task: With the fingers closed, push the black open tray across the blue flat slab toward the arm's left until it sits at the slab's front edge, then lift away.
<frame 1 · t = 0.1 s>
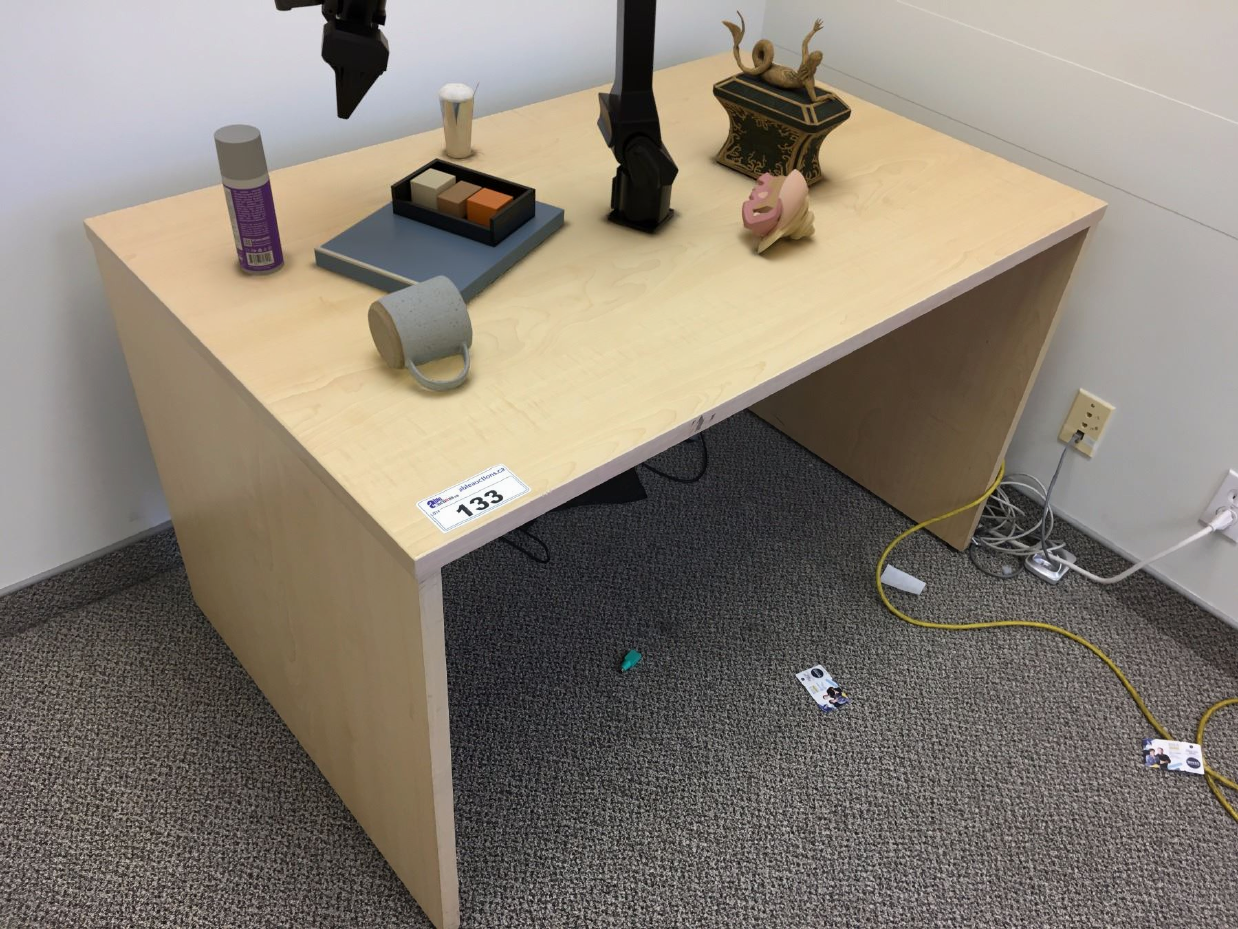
hand: (342, 100, 107), 15 cm above the table, tool pointing down, fingers open, 9 cm apart
ceramic mug: (430, 363, 99), on the table
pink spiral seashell: (771, 241, 123), on the table
black open tray: (464, 214, 118), point 2 cm above the table, touching blue flat slab
blue flat slab: (446, 243, 116), on the table
decorative box: (759, 166, 138), on the table
milkshake: (461, 154, 135), on the table
container: (262, 265, 111), on the table
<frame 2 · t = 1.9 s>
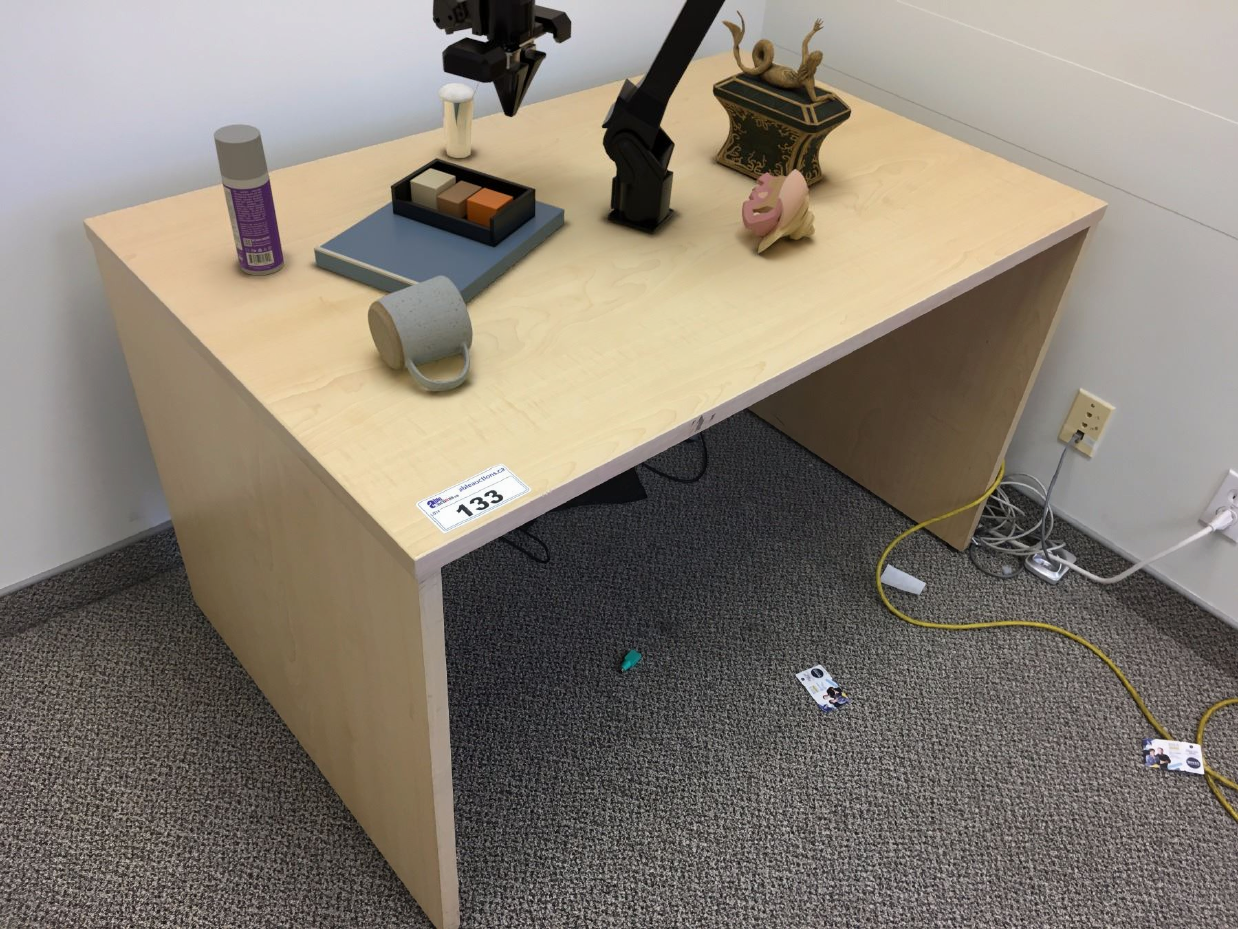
hand: (510, 115, 119), 11 cm above the table, tool pointing down, fingers closed
nothing on the table moved.
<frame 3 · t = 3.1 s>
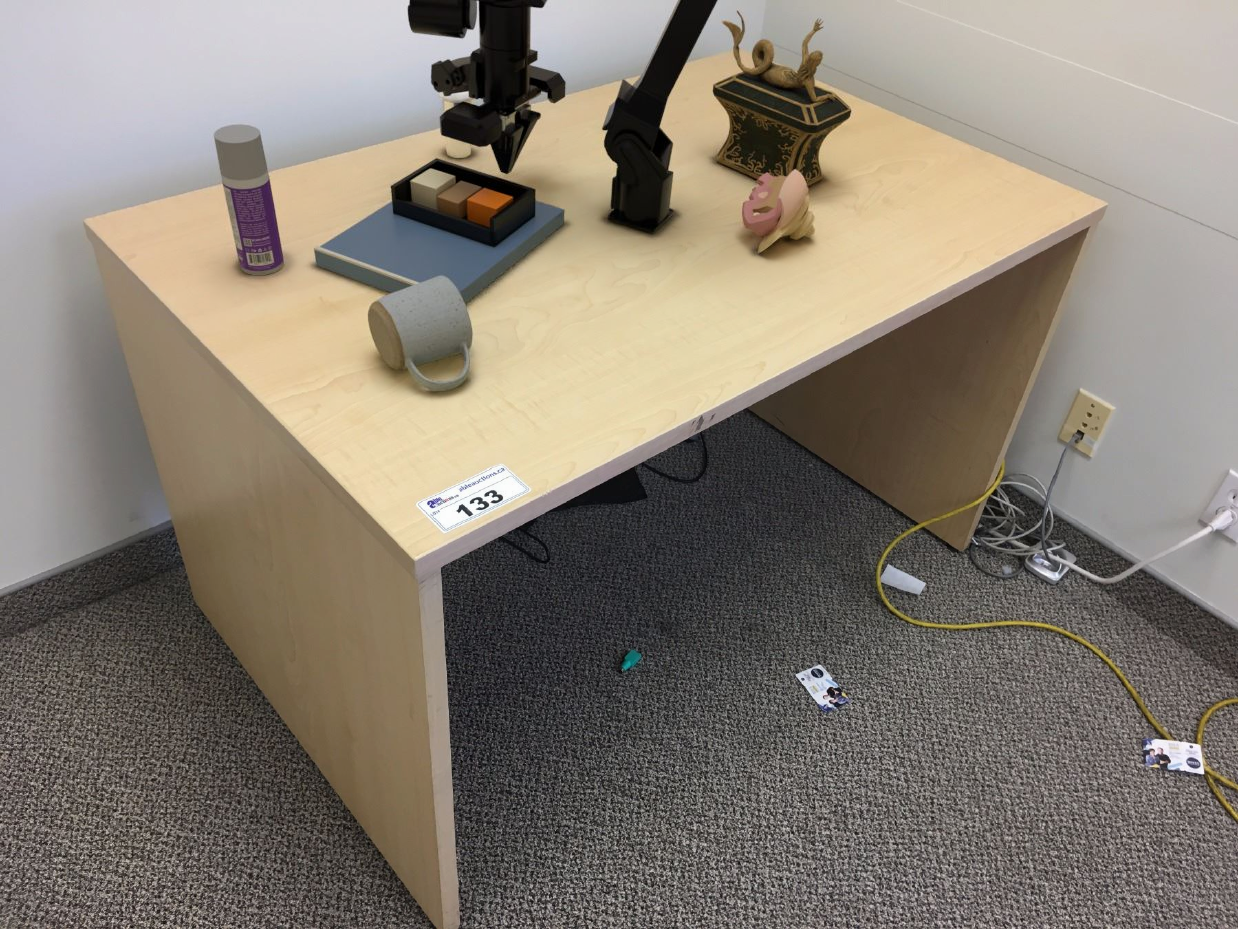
hand: (505, 172, 123), 4 cm above the table, tool pointing down, fingers closed
nothing on the table moved.
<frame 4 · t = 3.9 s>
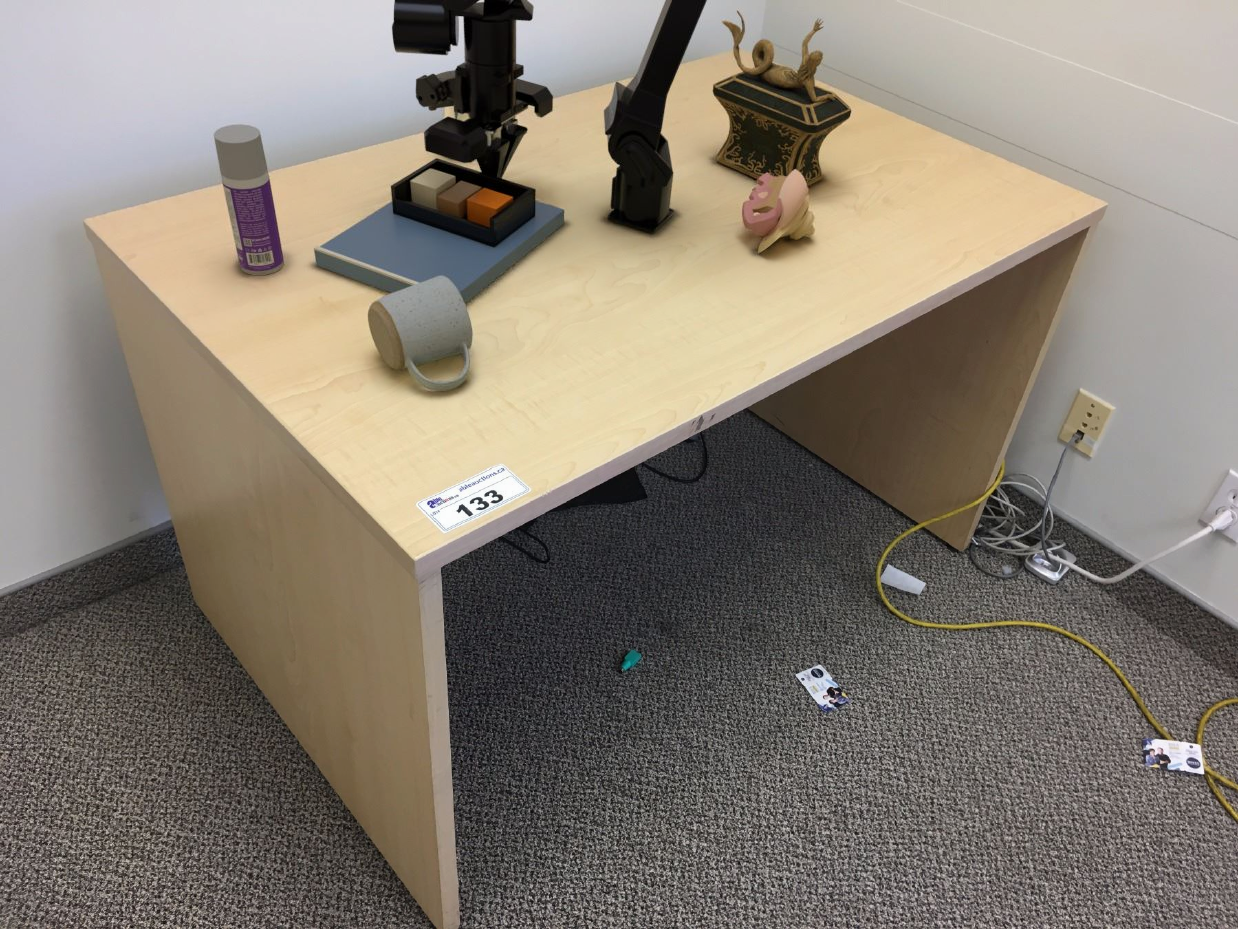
hand: (492, 187, 121), 3 cm above the table, tool pointing down, fingers closed
black open tray: (464, 214, 118), point 2 cm above the table, touching gripper, blue flat slab
everything else where it was.
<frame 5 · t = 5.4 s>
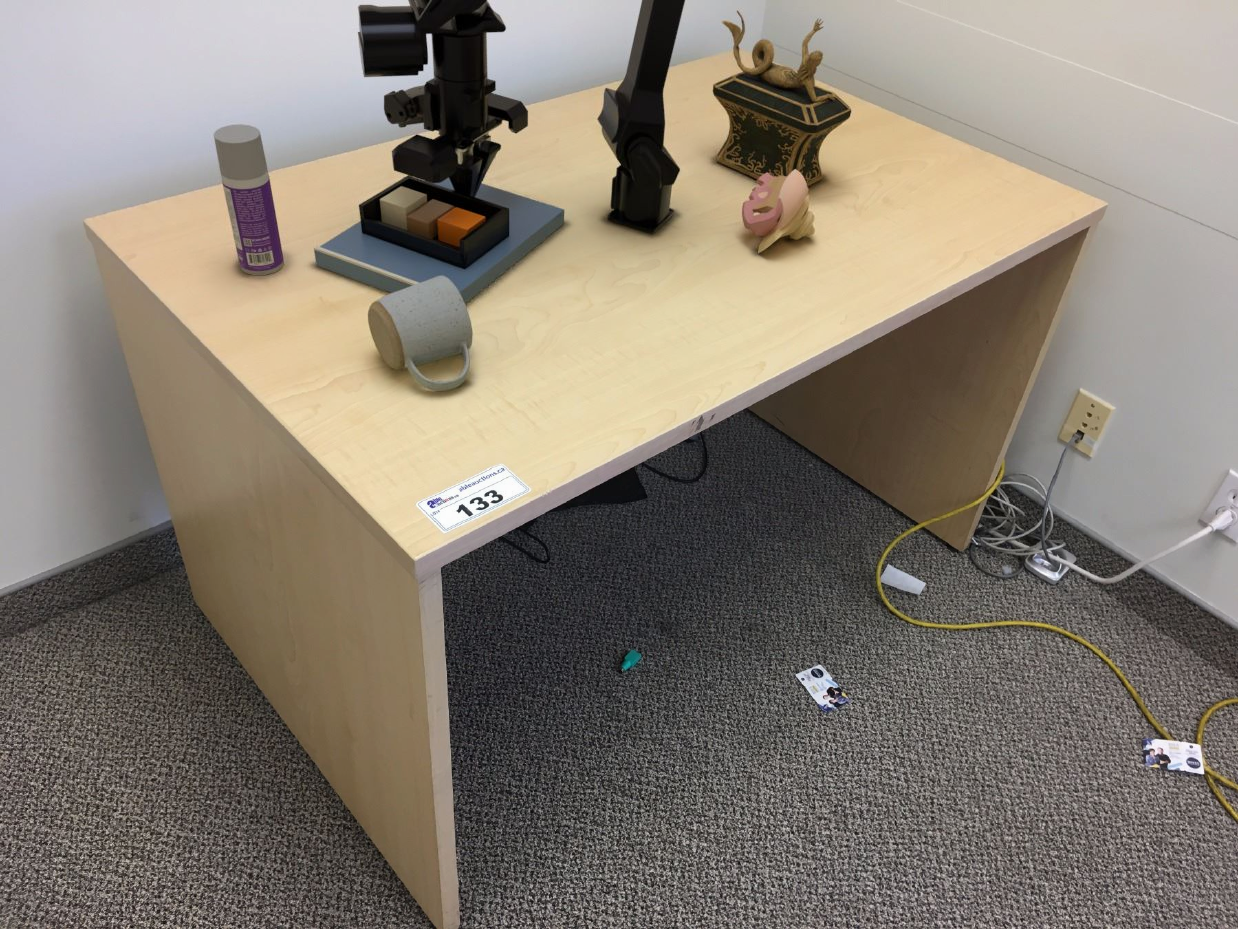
hand: (465, 205, 117), 3 cm above the table, tool pointing down, fingers closed
black open tray: (436, 234, 114), point 2 cm above the table, touching gripper
everything else where it was.
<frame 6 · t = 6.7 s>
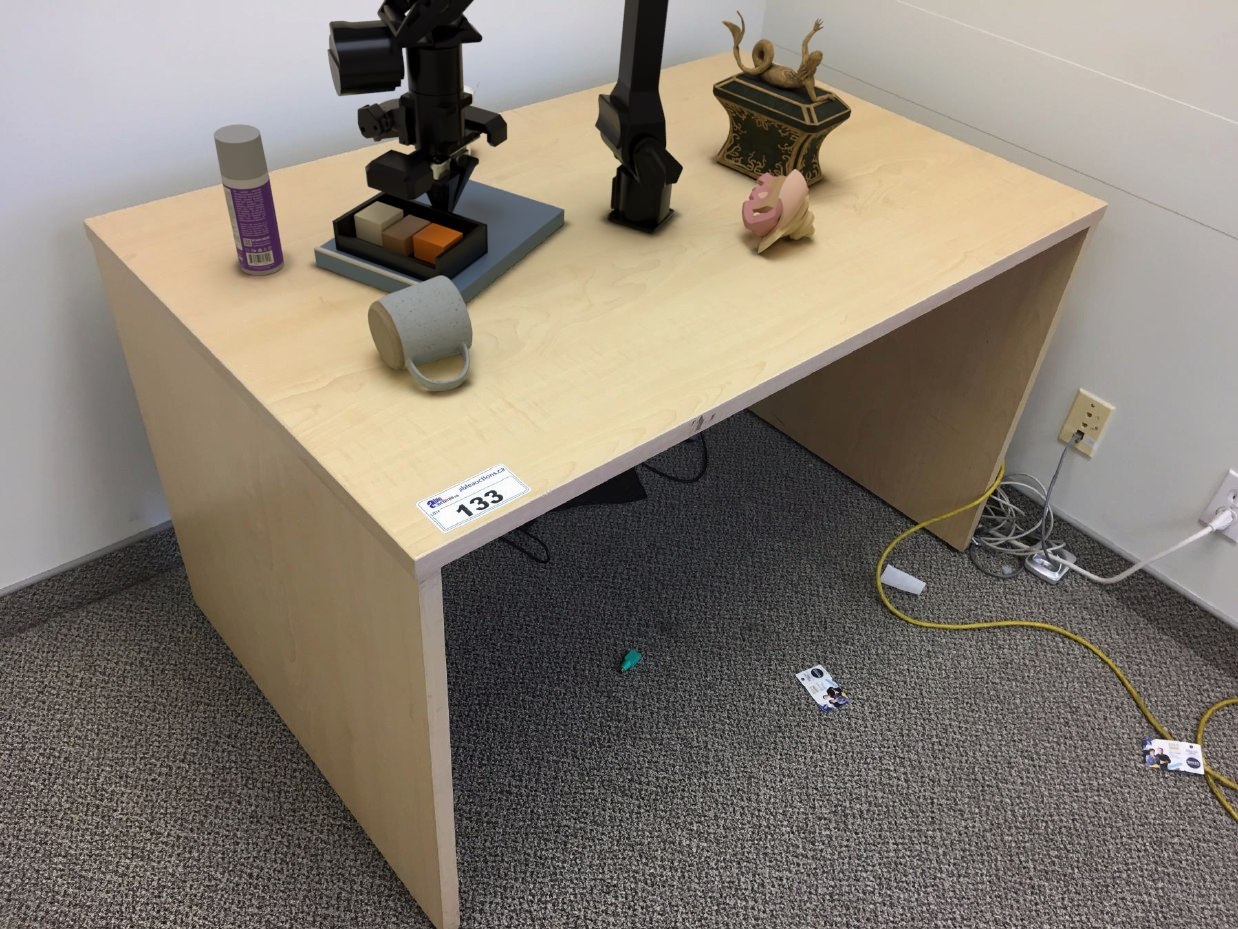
hand: (443, 220, 114), 3 cm above the table, tool pointing down, fingers closed
black open tray: (412, 251, 111), point 2 cm above the table, touching gripper, blue flat slab
everything else where it was.
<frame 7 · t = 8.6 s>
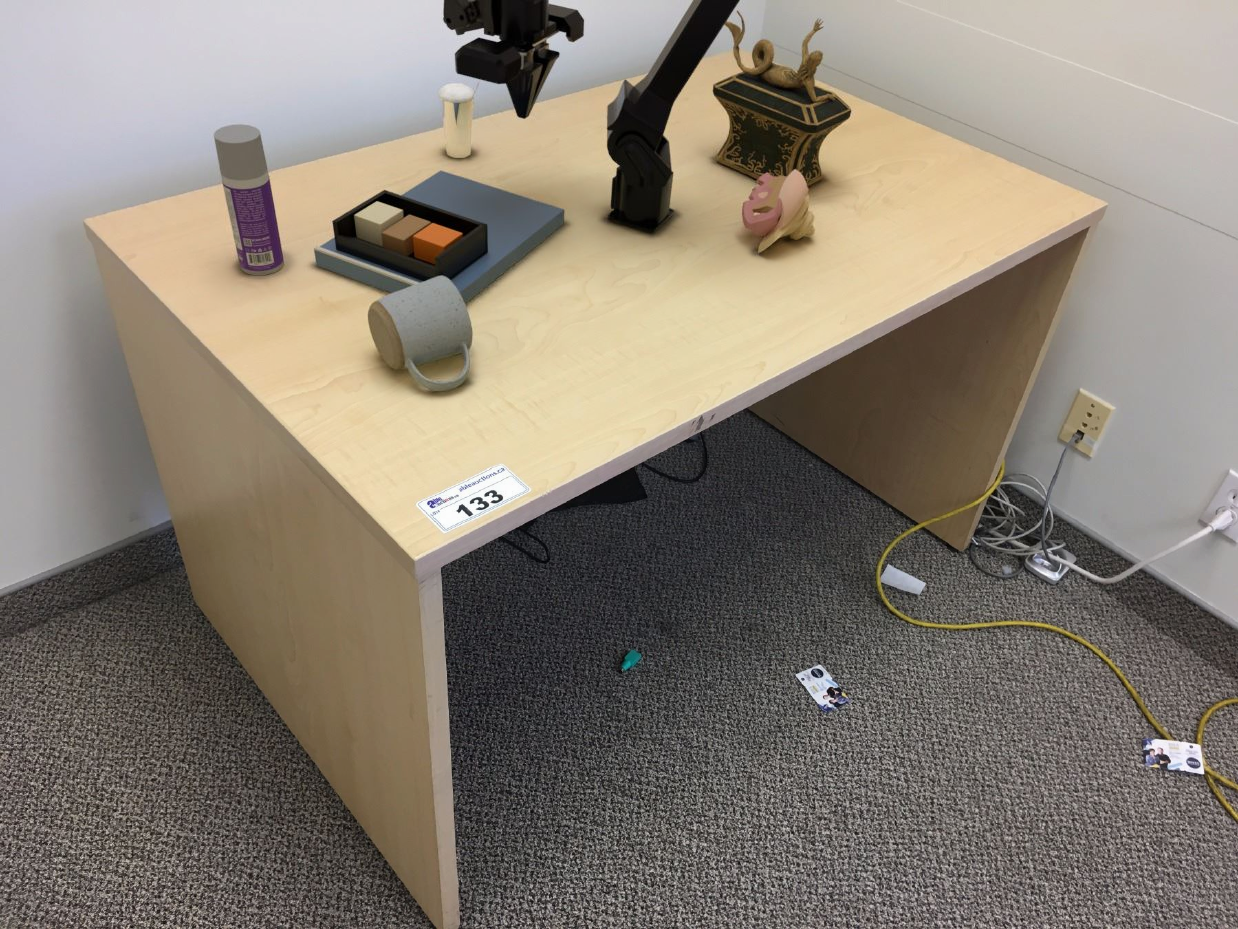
hand: (522, 116, 116), 12 cm above the table, tool pointing down, fingers closed
black open tray: (412, 251, 111), point 2 cm above the table, touching blue flat slab
everything else where it was.
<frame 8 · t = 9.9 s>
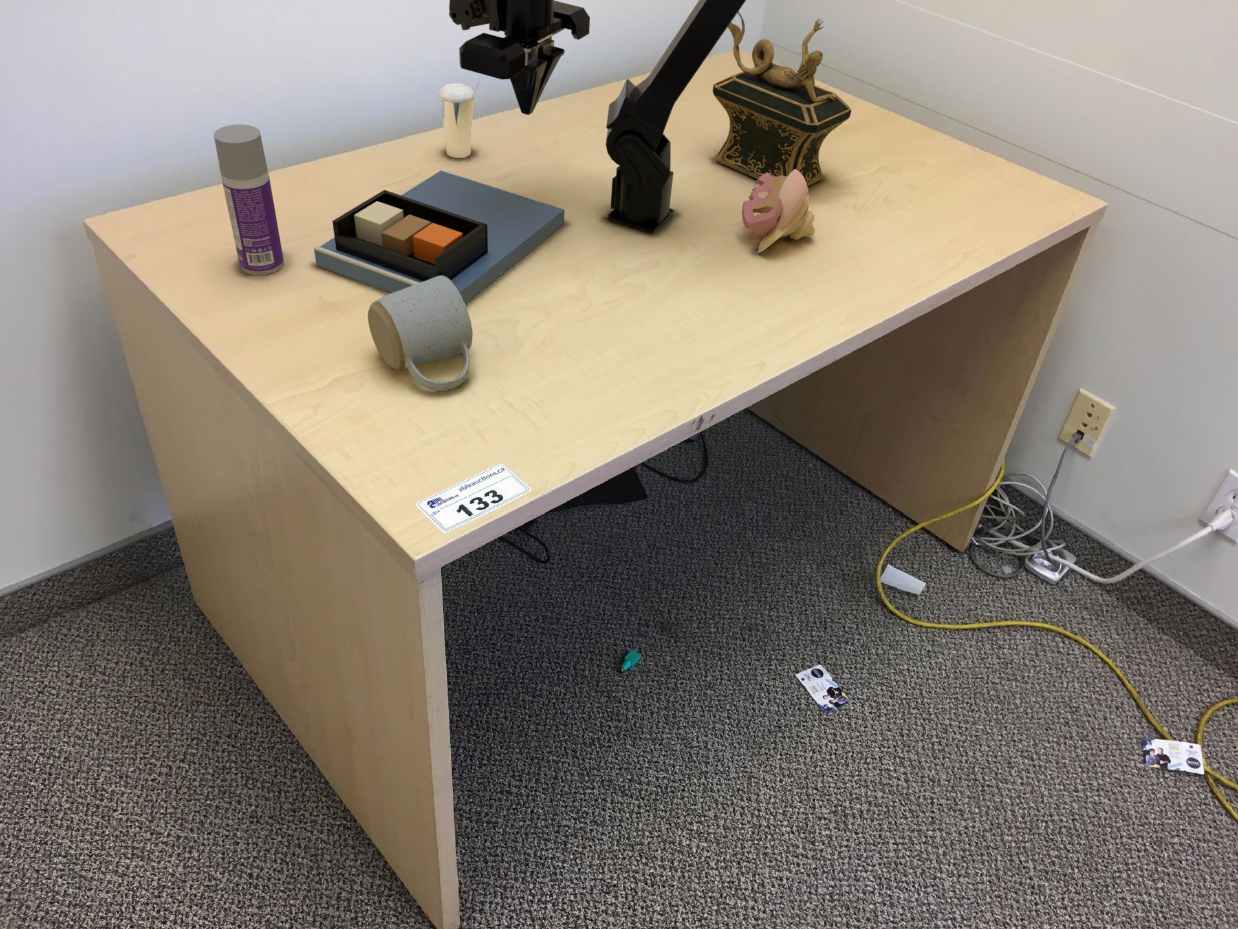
hand: (526, 113, 116), 12 cm above the table, tool pointing down, fingers closed
nothing on the table moved.
at the end: black open tray inside the target area on the blue flat slab (0.8 cm from its centre), point 2.0 cm above the blue flat slab's base; black open tray moved 10.2 cm from its start; black open tray tilted 0° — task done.
